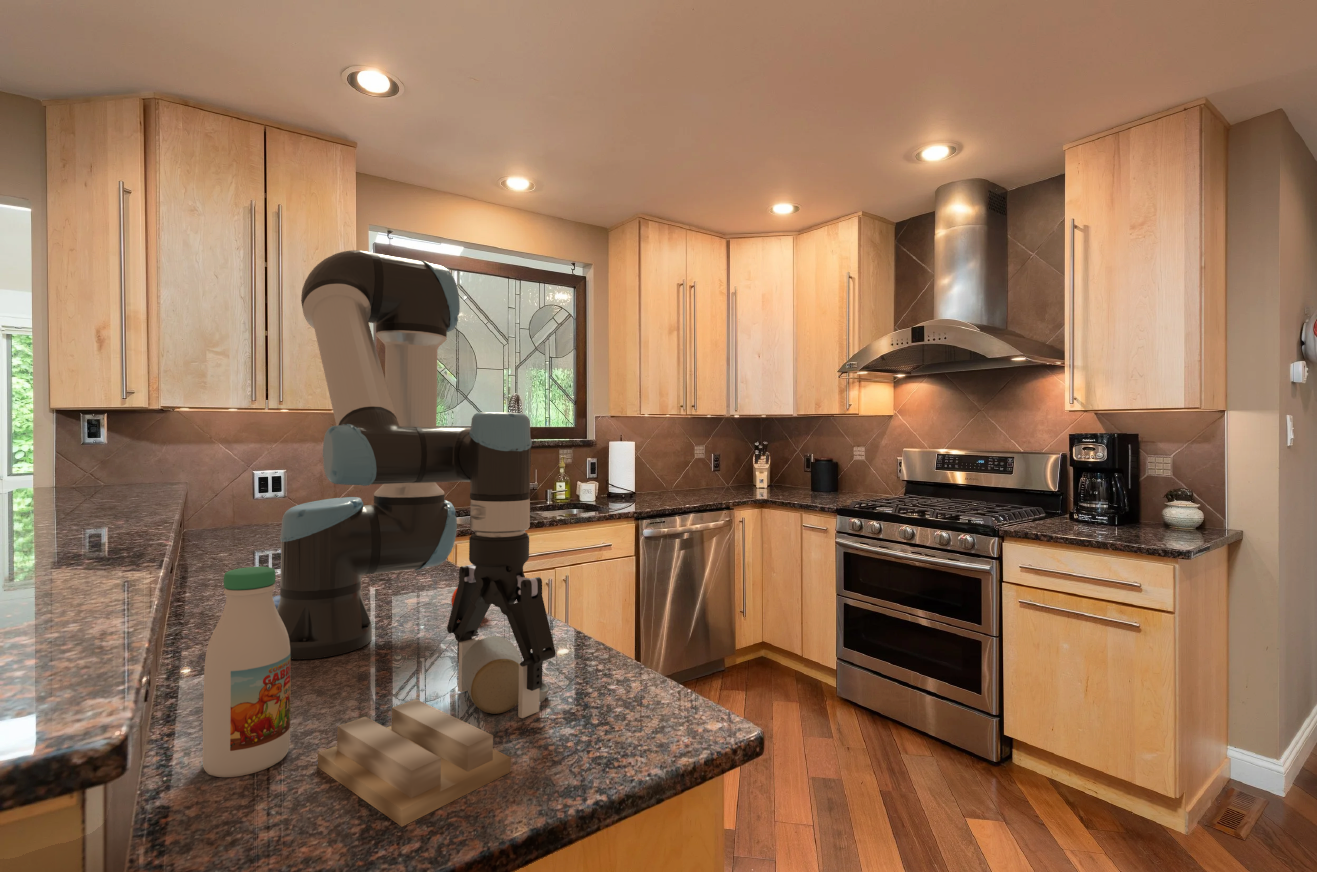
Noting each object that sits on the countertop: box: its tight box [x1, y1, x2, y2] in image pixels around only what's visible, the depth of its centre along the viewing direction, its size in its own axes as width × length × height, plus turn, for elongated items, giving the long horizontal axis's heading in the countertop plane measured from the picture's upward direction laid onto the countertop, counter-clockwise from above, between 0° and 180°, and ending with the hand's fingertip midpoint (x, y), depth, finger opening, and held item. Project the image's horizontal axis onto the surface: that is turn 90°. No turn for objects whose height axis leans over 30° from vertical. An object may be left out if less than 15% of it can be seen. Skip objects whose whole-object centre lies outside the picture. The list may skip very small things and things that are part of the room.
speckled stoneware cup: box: [462, 635, 549, 715], centre depth 83 cm, size 11×8×8 cm
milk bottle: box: [202, 566, 292, 778], centre depth 68 cm, size 8×8×20 cm
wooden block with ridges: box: [317, 699, 512, 828], centre depth 66 cm, size 16×12×4 cm
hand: (497, 700), depth 83 cm, fingers open, 11 cm apart
